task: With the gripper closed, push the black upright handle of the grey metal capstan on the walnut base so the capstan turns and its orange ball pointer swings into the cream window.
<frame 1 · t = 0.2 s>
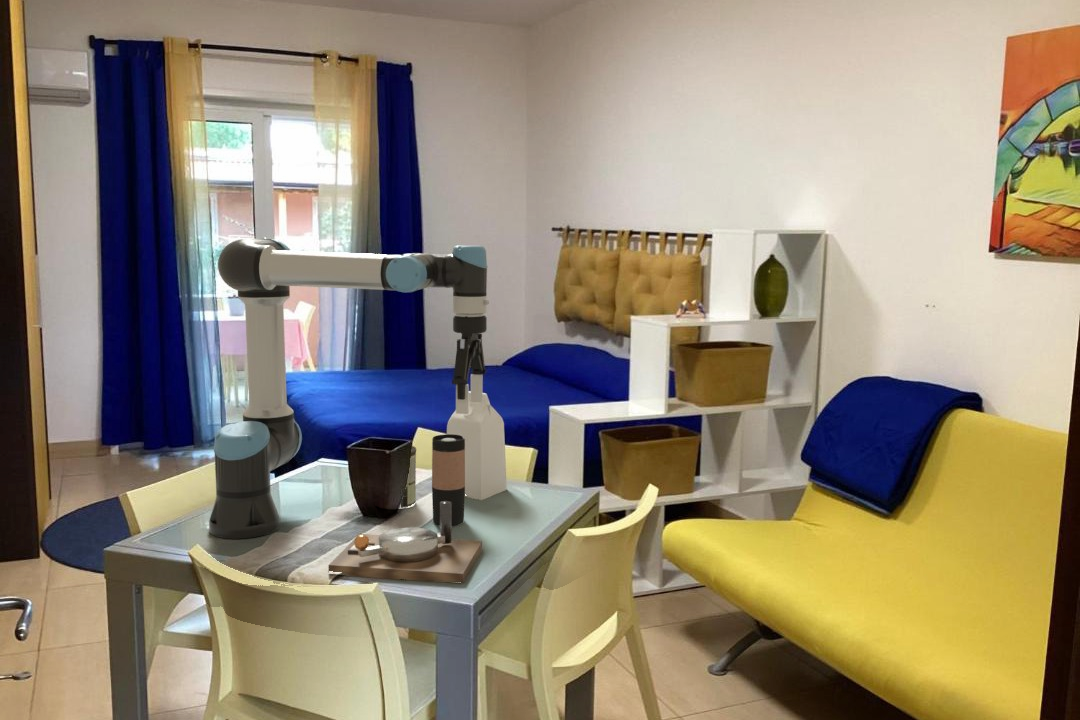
hand: (469, 407, 212), 27 cm above the table, tool pointing down, fingers open, 13 cm apart
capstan: (404, 530, 190), point 7 cm above the table, hinge at 40.0°
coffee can: (395, 504, 230), on the table
milk: (475, 491, 243), on the table
travel mug: (448, 522, 217), on the table
stand: (408, 561, 191), on the table
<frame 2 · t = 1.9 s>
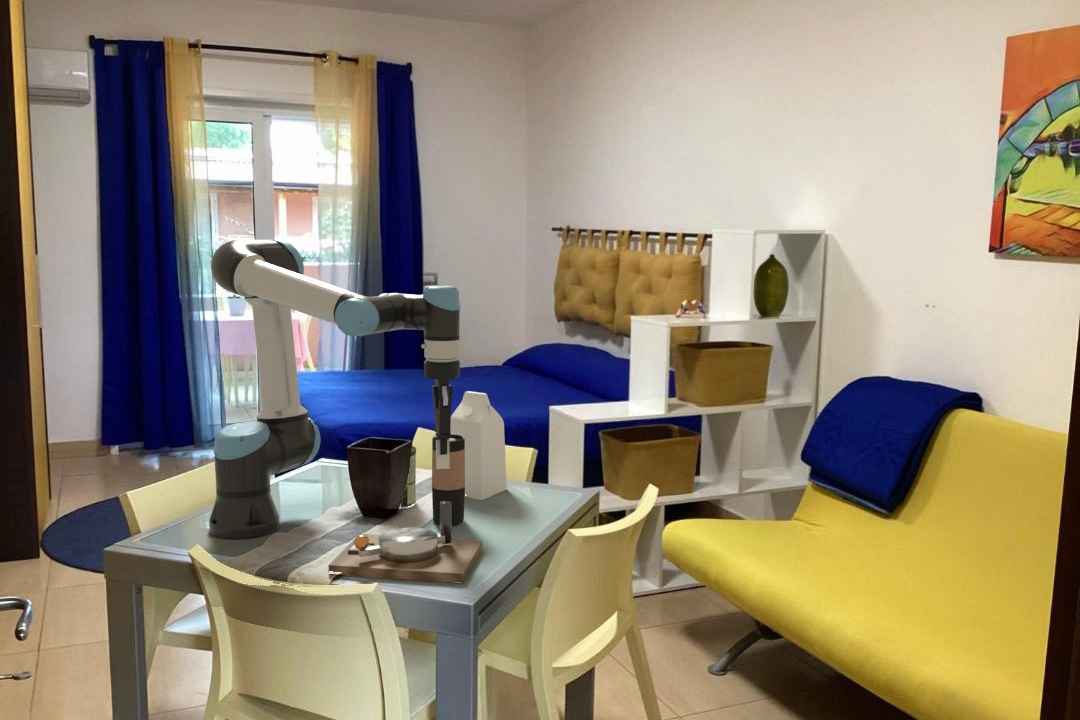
hand: (442, 467, 200), 17 cm above the table, tool pointing down, fingers closed
nothing on the table moved.
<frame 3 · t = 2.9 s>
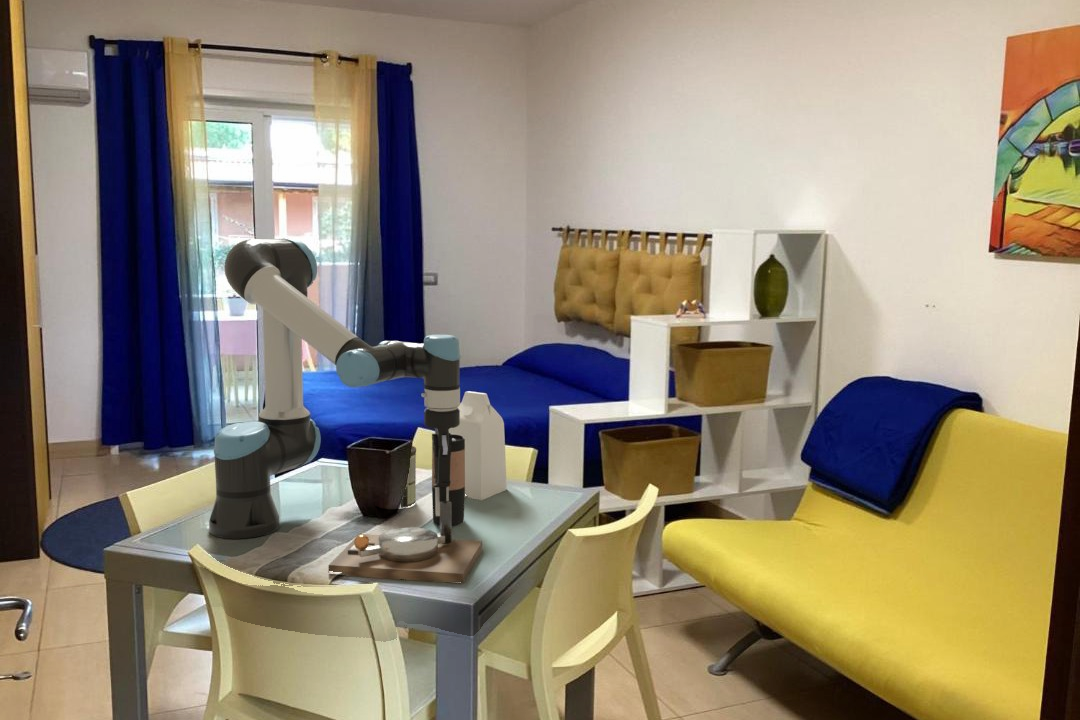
hand: (442, 514, 201), 6 cm above the table, tool pointing down, fingers closed
nothing on the table moved.
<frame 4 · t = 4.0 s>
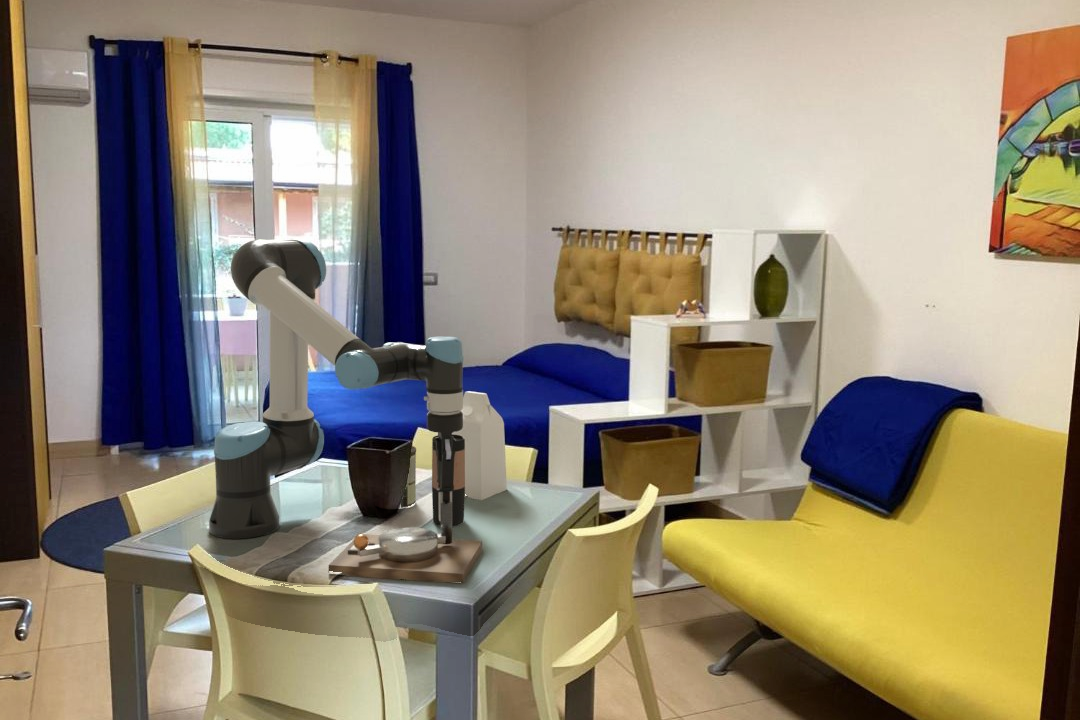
hand: (445, 519, 198), 7 cm above the table, tool pointing down, fingers closed
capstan: (404, 530, 190), point 7 cm above the table, hinge at 37.7°, touching gripper
everything else where it was.
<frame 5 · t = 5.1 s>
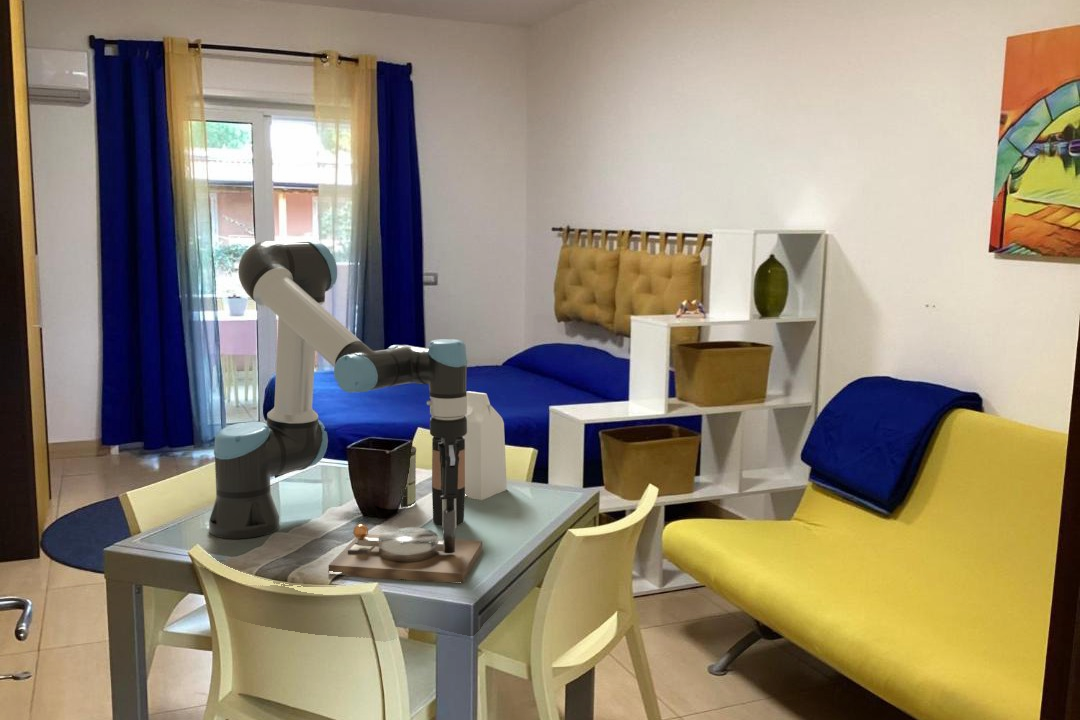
hand: (449, 527, 193), 7 cm above the table, tool pointing down, fingers closed
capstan: (403, 529, 190), point 7 cm above the table, hinge at 0.8°, touching gripper
everything else where it was.
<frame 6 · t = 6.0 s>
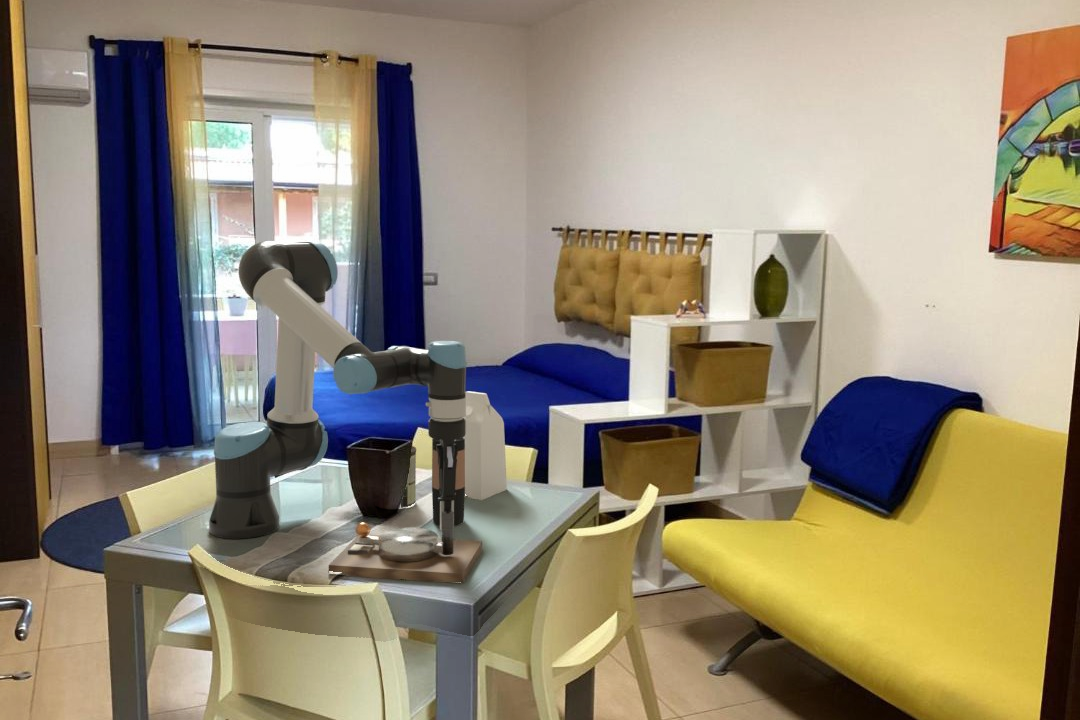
hand: (446, 529, 192), 6 cm above the table, tool pointing down, fingers closed
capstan: (404, 529, 190), point 7 cm above the table, hinge at -6.5°
everything else where it was.
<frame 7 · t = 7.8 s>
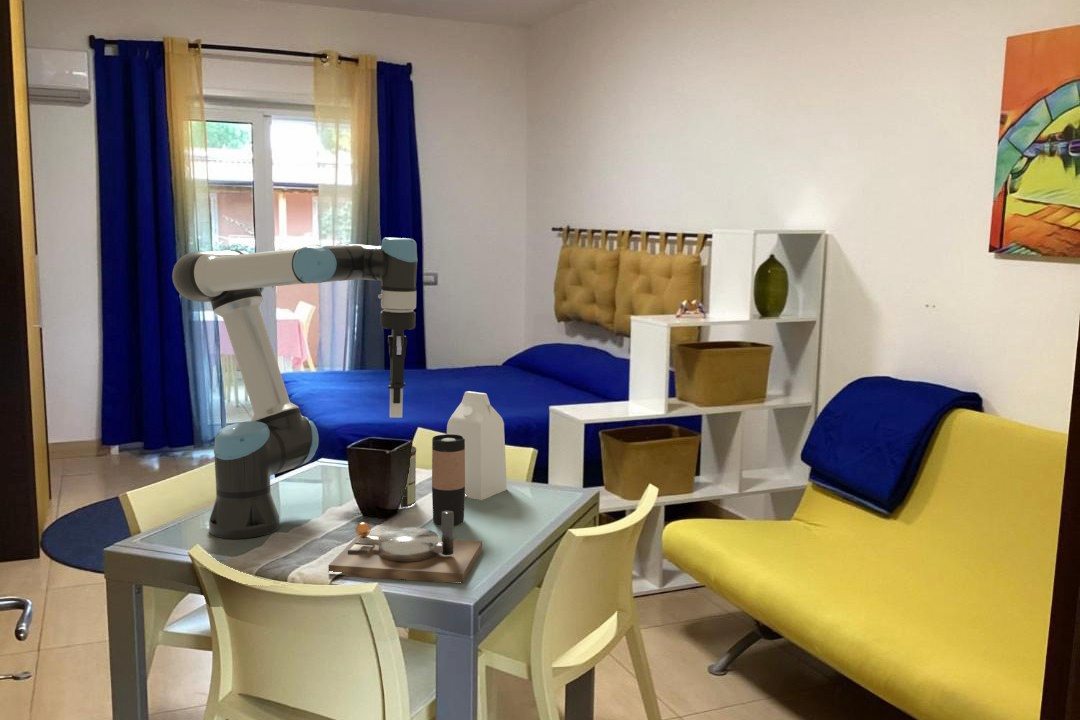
hand: (395, 416, 205), 27 cm above the table, tool pointing down, fingers closed
nothing on the table moved.
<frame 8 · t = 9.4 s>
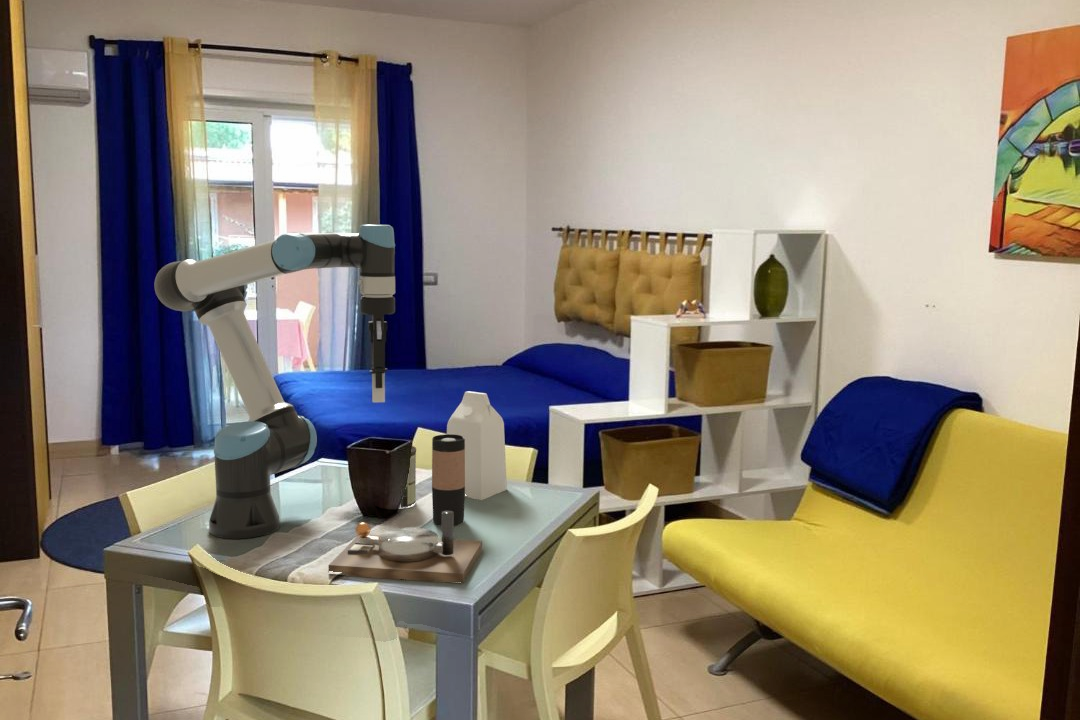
hand: (378, 401, 207), 29 cm above the table, tool pointing down, fingers closed
nothing on the table moved.
at the end: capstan at -6° (first picture: +40°); travel mug moved 0.2 cm from its start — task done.
